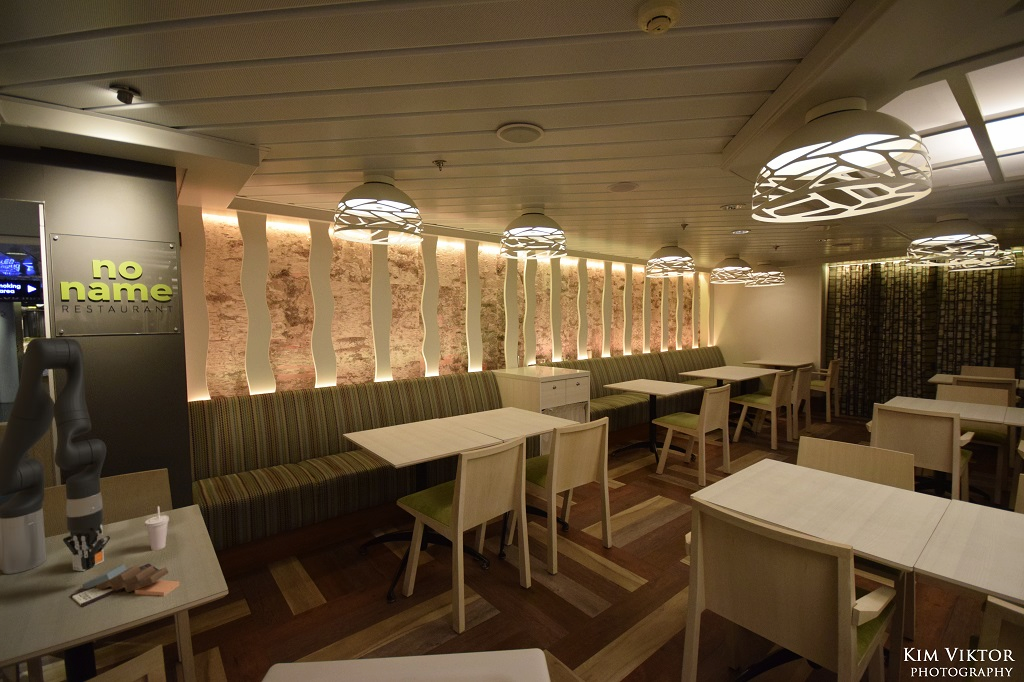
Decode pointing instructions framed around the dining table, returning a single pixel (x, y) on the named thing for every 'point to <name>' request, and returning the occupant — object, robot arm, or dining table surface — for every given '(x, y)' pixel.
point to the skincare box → (77, 560)
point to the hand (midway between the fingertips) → (88, 568)
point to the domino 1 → (104, 577)
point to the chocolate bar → (97, 592)
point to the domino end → (158, 588)
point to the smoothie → (157, 530)
